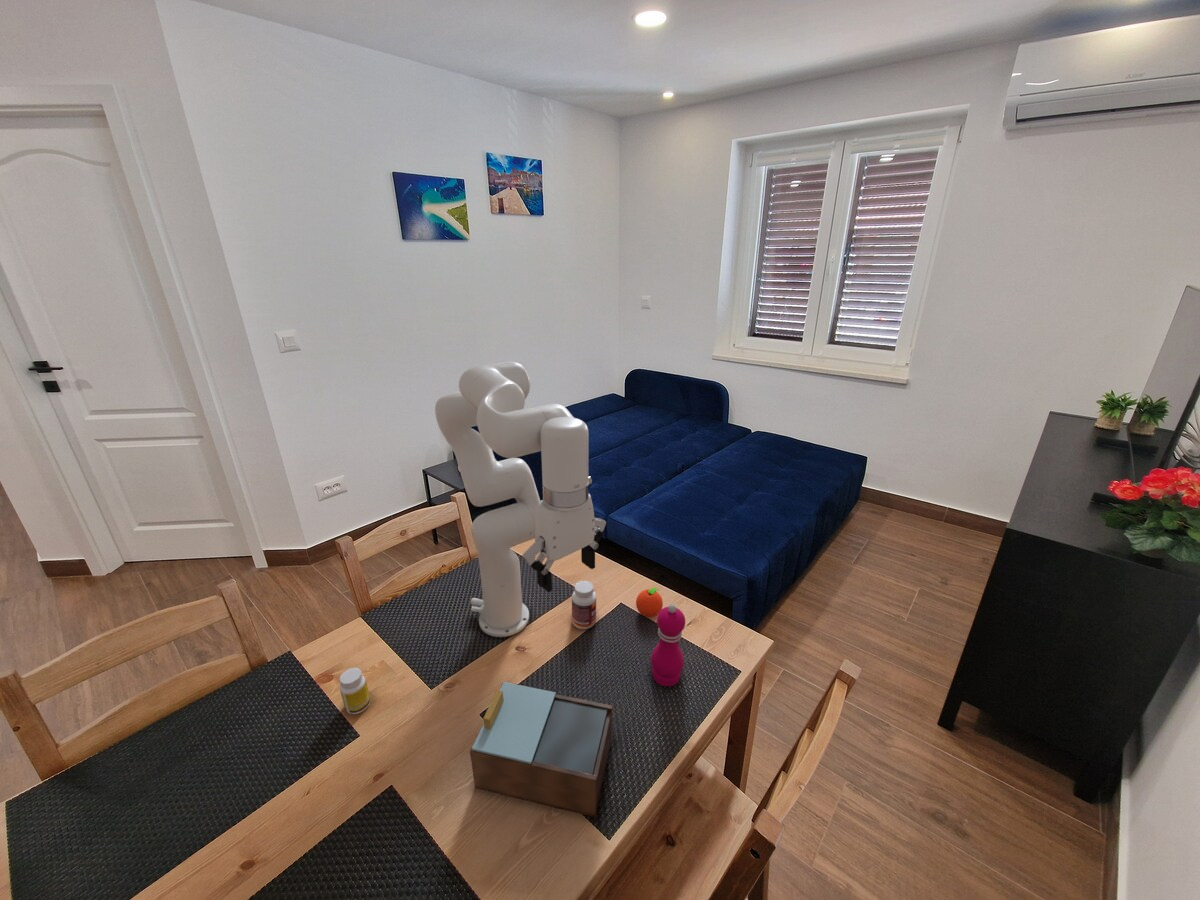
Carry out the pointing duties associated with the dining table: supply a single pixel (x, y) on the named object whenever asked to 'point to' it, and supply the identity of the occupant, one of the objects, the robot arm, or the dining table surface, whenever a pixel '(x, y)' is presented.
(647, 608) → the clementine
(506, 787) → the case
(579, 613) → the pill bottle
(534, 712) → the sliding box lid
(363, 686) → the supplement bottle
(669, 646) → the pepper mill
